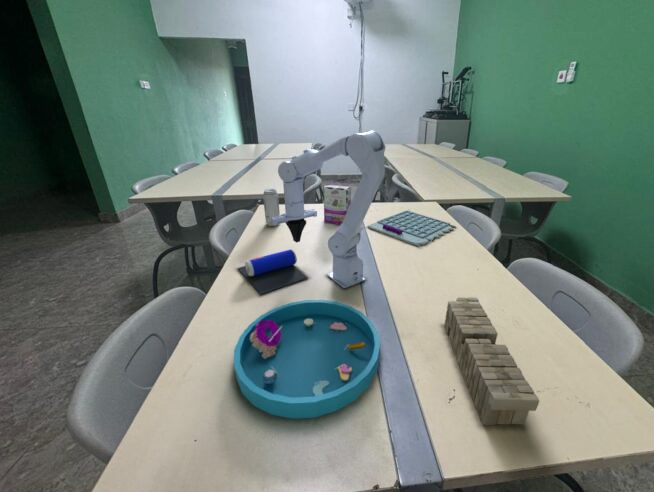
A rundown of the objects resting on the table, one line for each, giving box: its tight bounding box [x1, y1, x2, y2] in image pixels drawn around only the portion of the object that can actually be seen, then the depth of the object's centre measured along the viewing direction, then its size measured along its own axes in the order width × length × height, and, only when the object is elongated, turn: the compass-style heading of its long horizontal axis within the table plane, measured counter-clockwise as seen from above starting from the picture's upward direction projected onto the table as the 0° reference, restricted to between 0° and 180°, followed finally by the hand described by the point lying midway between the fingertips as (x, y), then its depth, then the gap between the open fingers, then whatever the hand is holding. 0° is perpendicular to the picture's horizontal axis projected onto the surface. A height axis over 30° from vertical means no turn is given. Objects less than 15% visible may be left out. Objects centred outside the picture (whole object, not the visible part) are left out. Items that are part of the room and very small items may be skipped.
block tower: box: [443, 296, 540, 426], centre depth 66 cm, size 8×8×29 cm
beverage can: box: [244, 248, 298, 276], centre depth 100 cm, size 5×5×15 cm
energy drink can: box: [262, 188, 281, 227], centre depth 134 cm, size 6×6×15 cm
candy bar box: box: [322, 184, 352, 226], centre depth 138 cm, size 11×5×16 cm, turn 73°
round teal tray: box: [233, 299, 381, 420], centre depth 68 cm, size 30×30×6 cm
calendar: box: [367, 210, 457, 248], centre depth 138 cm, size 27×29×2 cm
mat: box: [237, 265, 309, 296], centre depth 99 cm, size 18×15×1 cm
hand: (296, 241), depth 102 cm, fingers closed
